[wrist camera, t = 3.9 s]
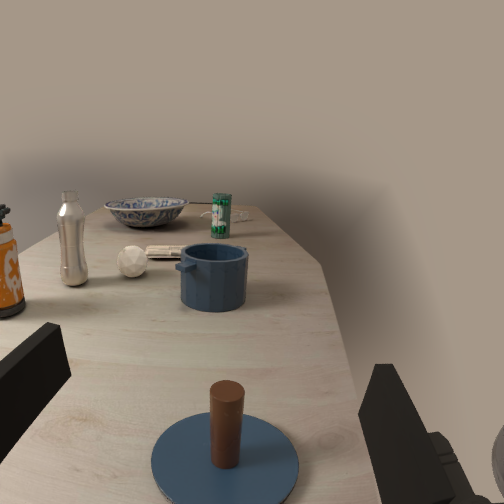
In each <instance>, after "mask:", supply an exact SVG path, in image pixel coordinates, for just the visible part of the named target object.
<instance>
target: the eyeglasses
mask: <svg viewBox="0 0 504 504" xmlns="http://www.w3.org/2000/svg"><path fill="white" fill-rule="evenodd" d="M231 210H232V209H231ZM235 211H237V210H235ZM241 212H242V211H241ZM206 213H208V212H206ZM210 213H212V212H210ZM248 213H249V212H243V213H241V214H237V213H235V214H231V215H230V219H231V222H236V221H237V219H238V216H239V215H240V217H241V219H242V220H246V219H247V217H248ZM204 214H205V213H204ZM204 214H202V215H201V216H200V217H203V215H204Z"/></svg>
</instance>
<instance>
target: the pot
mask: <svg viewBox="0 0 504 504" xmlns="http://www.w3.org/2000/svg"><path fill="white" fill-rule="evenodd" d="M248 256H249V254H248V252H247V251H246V248H244V247H240V246H233V245H228V244H219V243H202V244H194V245H190V246H186V247H184V248H183V249H181V263H178V264H176V270H178V271H181V300H182V302H183V303H184V304H185V305H187V306H188V307H190V308H193V309H196V310H200V311H205V312H225V311H230V310H234V309H236V308H239V307H240V306H242V305H243V303H244V301H245V298H246V284H247V270H248Z"/></svg>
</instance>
